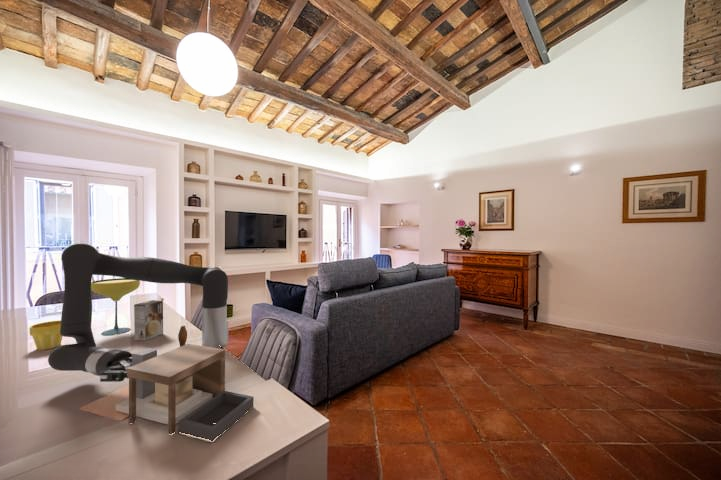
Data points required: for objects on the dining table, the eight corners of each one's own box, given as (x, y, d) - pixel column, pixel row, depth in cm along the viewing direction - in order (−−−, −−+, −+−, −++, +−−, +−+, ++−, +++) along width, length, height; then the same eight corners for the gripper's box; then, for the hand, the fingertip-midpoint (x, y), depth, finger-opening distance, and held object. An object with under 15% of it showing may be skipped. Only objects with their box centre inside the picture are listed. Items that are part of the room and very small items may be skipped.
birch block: (175, 393, 80) (176, 372, 80) (192, 396, 78) (192, 375, 78) (154, 405, 74) (155, 382, 74) (172, 409, 72) (172, 386, 72)
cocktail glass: (132, 323, 150) (133, 277, 149) (145, 330, 139) (145, 280, 139) (86, 332, 135) (86, 281, 135) (95, 341, 124) (96, 284, 124)
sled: (160, 387, 85) (160, 343, 85) (212, 399, 79) (212, 351, 79) (115, 410, 74) (115, 359, 74) (173, 425, 68) (173, 370, 68)
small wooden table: (187, 389, 85) (187, 343, 85) (224, 397, 81) (225, 349, 81) (126, 424, 69) (126, 368, 69) (169, 437, 65) (169, 377, 65)
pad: (140, 380, 91) (140, 379, 91) (178, 388, 86) (178, 388, 86) (78, 409, 75) (78, 408, 75) (120, 421, 71) (120, 420, 71)
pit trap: (223, 401, 80) (223, 390, 80) (253, 407, 77) (253, 396, 77) (178, 433, 66) (178, 421, 66) (212, 443, 63) (212, 430, 63)
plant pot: (24, 349, 115) (24, 325, 114) (59, 341, 124) (59, 319, 124) (36, 353, 111) (36, 329, 111) (71, 344, 120) (71, 321, 120)
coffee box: (152, 333, 136) (152, 299, 135) (163, 334, 134) (163, 300, 134) (133, 339, 127) (133, 304, 126) (145, 340, 125) (145, 305, 125)
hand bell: (170, 370, 98) (170, 324, 98) (197, 365, 101) (198, 321, 101) (164, 381, 90) (165, 331, 90) (194, 376, 94) (194, 328, 94)
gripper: (79, 359, 76) (124, 368, 71) (135, 341, 90) (175, 348, 85) (79, 387, 76) (124, 398, 71) (135, 364, 90) (175, 372, 85)
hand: (151, 371), depth 78 cm, fingers closed on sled, 4 cm apart
